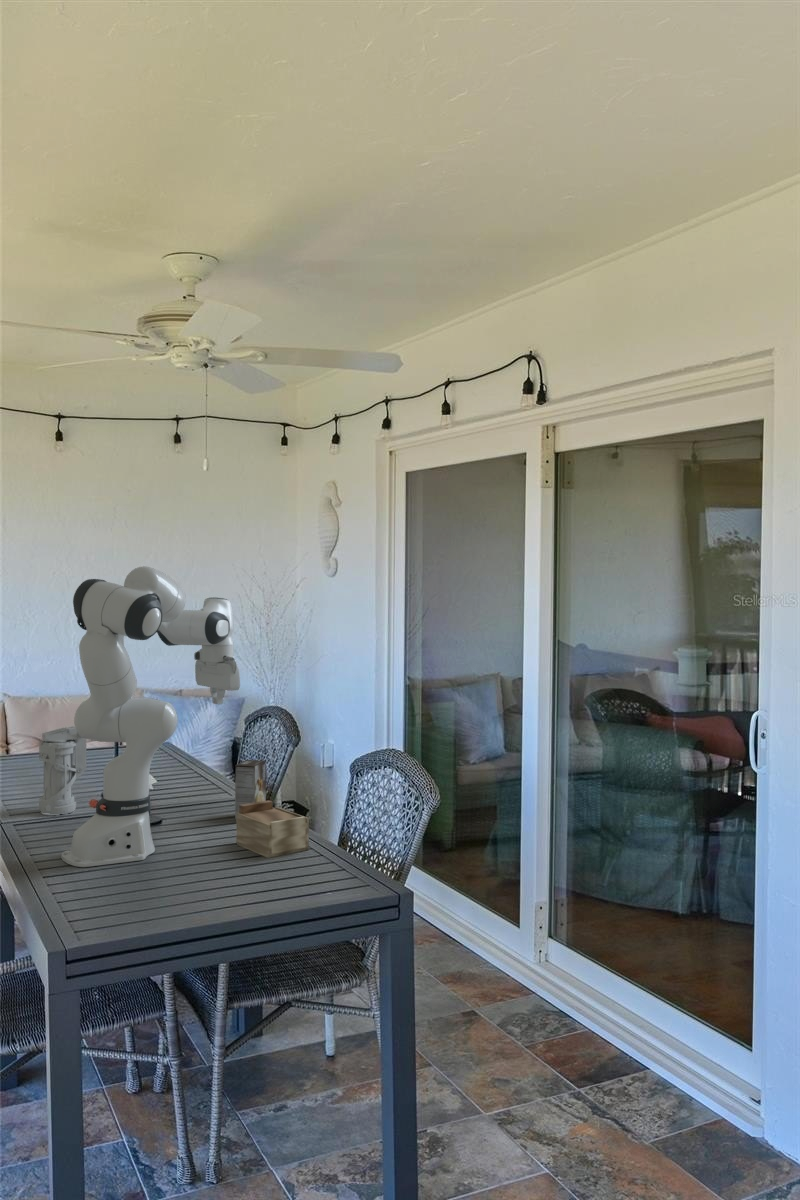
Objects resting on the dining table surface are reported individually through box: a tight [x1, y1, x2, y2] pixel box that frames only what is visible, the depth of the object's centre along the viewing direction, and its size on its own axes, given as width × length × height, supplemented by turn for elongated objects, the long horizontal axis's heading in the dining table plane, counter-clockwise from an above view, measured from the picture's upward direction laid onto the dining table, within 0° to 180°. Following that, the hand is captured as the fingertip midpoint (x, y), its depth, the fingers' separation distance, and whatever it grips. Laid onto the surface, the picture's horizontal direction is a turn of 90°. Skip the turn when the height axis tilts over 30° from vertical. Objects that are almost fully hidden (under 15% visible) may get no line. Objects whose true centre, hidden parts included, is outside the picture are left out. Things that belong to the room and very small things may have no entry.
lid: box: [239, 799, 298, 825], centre depth 254 cm, size 10×16×3 cm, turn 39°
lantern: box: [38, 725, 87, 814], centre depth 291 cm, size 13×10×25 cm
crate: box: [236, 806, 310, 859], centre depth 253 cm, size 12×16×9 cm
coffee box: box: [234, 759, 267, 821], centre depth 286 cm, size 9×6×16 cm
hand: (217, 704), depth 276 cm, fingers closed
